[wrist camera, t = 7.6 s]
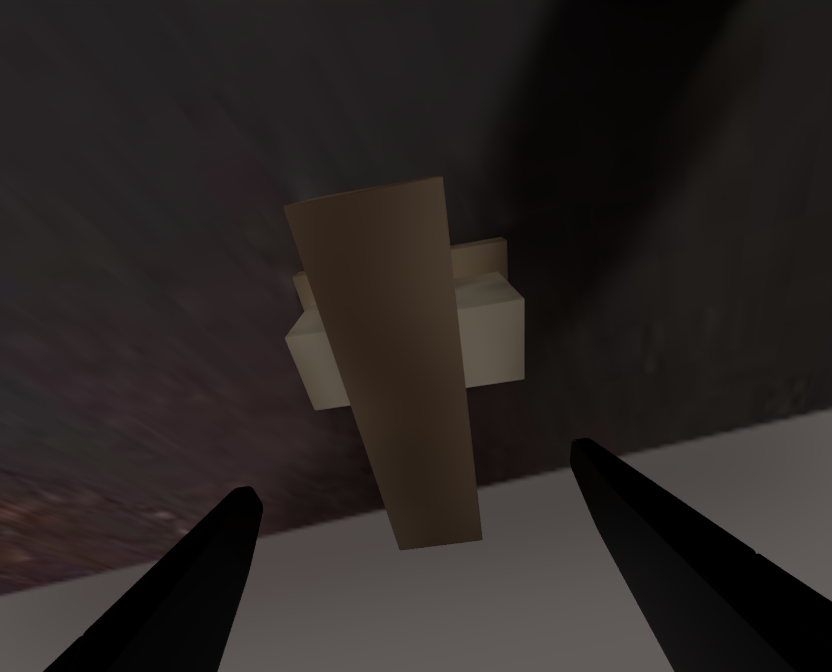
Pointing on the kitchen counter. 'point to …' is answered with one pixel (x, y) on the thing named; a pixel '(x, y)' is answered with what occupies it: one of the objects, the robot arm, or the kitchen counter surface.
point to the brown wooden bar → (397, 347)
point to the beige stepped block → (477, 315)
